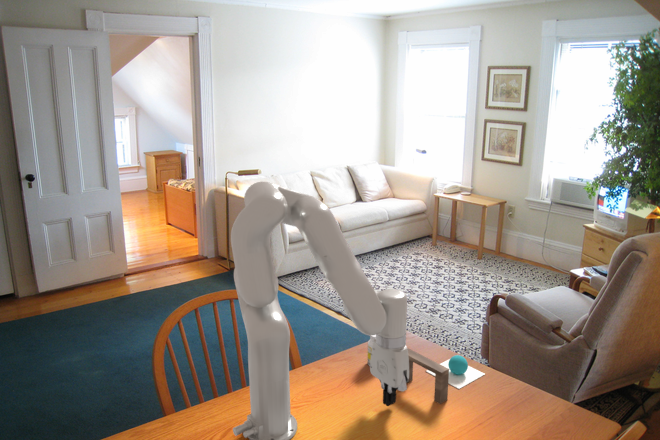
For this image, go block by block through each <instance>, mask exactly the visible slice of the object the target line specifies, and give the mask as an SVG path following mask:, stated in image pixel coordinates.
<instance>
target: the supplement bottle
mask: <svg viewBox="0 0 660 440" xmlns="http://www.w3.org/2000/svg"><path fill="white" fill-rule="evenodd" d="M374 339H376V335H369V340H368V342H367V365H368V366H369V367H370V360H371V351H372V346H373V342H374Z"/></svg>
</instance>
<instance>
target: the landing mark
mask: <svg viewBox="0 0 660 440" xmlns="http://www.w3.org/2000/svg"><path fill="white" fill-rule="evenodd" d="M450 359H451V358H449V359H446V360H445V361H443V362H441V363H439V364H440V365H442V366H444V367H446V368H448V369H449V366H448V363H449V360H450ZM425 372H426V373H427V374H430V375H431V376H433V377H435V373H433V372H431V371H429V370H427V369H426V370H425ZM485 375H486V373H484V372H482V371H480V370H478V369H477V368H474V367H472V366H470V365H468V369H467V371H466V372H465V373H464V374H462V375H456V374H454V373H452V372H451V371H450V369H449V379H448V385H450V386H452V387H454V388H456V389H458V390H461V389H462V388H464V387H466V386H467V385H469V384H471V383H472V382H474V381H476V380H477V379H480V378H481V377H484V376H485Z"/></svg>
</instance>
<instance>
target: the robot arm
mask: <svg viewBox="0 0 660 440" xmlns="http://www.w3.org/2000/svg"><path fill="white" fill-rule="evenodd" d="M243 199H244V200H243V201H244V207H243V208H242V209H241V211H240V212H239V213H238V215H237V216H236V218H235V220H234V222H233V224H232V227H231V231H230V244H231V245H230V246H231V249H232V250H231V251H232V257H233V263H234V269H233V280H234V285H235V290H236V294H237V298H238V302H239V307H240V311H241V317H242V321H243V323H244V328H245V331H246V333H245V334H246V337H247V349H248V350H247V363H248V367H247V368H248V382H249V398H250V400H249V401H250V413H249V414H247V415H246V420H245V421H244V422H243V423H242V424H239V425H237V426H234V427H233V428H232V432H233V435H234V436H235V437H237V436H239V435H241V434H242V436H243V437H244V439H248V440H291V439H292V438H293V437H294V436H295V435H296V432H297V430H298V421H297V419H296V418H295V416H294V415H292V413H291V392H290V391H291V389H290V386H291V385H290V344H291V331H290V326H289V323H288V319H287V318H286V316H285V314H284V312H283V310H282V308H281V305H280V301H279V298H278V292H279V287H280V286H279V279H278V276H277V271H276V269H275V263H274V258H273V253H272V245H271V236H272V235H273V232H274V231H275V229H276V228H277V227H278V226H280V224H285V225H288V226H292V227H296V228H297V229H298V231H299V233H300V235H301V236H302V239H303V240H304V242H305V243H306V246H307V247H308V249H309V251H310V253H311V255H312V257H313V259H314V260H315V262H316V263H317V266H318V267H319V269H320V271H321V273H322V274H323V276H324V277H325V279H326V281H327V282H328V283H329V284H330V286H332V288H333V289H334V290H335V291H336V294H337V295H338V296H339V297H340V299H341V301H342V307H343V310H344V312H345V314H346V315H347V316H348V317H347V318H349V319H350V321H351V322H352V323H353V325H354V326H355V327H356V328H357V330H358V331H359V332H360V333H362V334H363V335H365V336H370V335H376V339H374V342H373V346H372V351H371V360H370V366H369V370H370V374H371V375H372V376H373V377H374V378H376V379H377V380H379V382H380V387H381V389H382V404H383V405H385V406H387V407H389V406H391V405H393V404H396V402H397V391H400V392H405V391H407V389H408V388H407V387H408V386H407V384H408V383H409V382H408V380H409V357H408V350H407V349H408V346H407V321H408V320H407V318H408V317H407V316H408V313H407V312H408V297H407V294H406V293H405V292H403V291H402V290H399V289H396V288H395V289H394V288H389V289H388V288H387V289H383V290H375V289H374V287H373V286H372V284H371V282H370V280H369V279H368V277H367V276H366V273H365V272H364V270H363V268H362V266H361V264H360V263H359V261H358V259H357V257H356V256H355V254H354V252H353V251H352V248H351V247H350V244H349V243H348V241H347V239H346V237H345V235H344V233H343V232H342V230H341V227H340V225H339V224H338V221H337V220H336V217H335V215H334V214H333V212H332V211H331V209H330V208H329V206H328V205H326V204H325V203H324V202H322V201H321V200H320V199H318V198H317V197H315V196H314V195H309V194H306V193H304V192H299V191H297V190H294V189H291V188H288V187H284V186H281V185H278V184H275V183H273V182H268V181H257V182H254V183H253V184H251V185H250V186H249V187H248V188H247V190H246V191H245V193H244V197H243ZM407 382H408V383H407Z"/></svg>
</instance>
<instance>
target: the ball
mask: <svg viewBox="0 0 660 440" xmlns="http://www.w3.org/2000/svg"><path fill="white" fill-rule="evenodd" d="M449 359H450V360H449ZM449 359H448V360H449V363H448V366H449V369H450V371H451V372H452V373H454V374H456V375H462V374H464V373H465V372H466V371H467V369H468V366H469V365H468V364H469V363H468V361H467V359H466V358H465V357H464V356H463V355H460V354H456V355H455V354H454V355H453V356H451V357H450V358H449Z"/></svg>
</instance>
